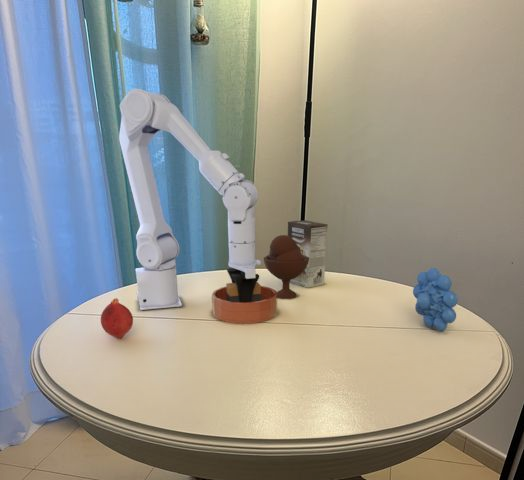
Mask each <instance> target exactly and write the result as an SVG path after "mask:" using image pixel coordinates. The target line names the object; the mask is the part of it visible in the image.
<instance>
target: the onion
mask: <svg viewBox="0 0 524 480" xmlns="http://www.w3.org/2000/svg"><path fill="white" fill-rule="evenodd" d="M119 301H120V300H119V299H118V298H117V297H114V298H112V300H111V301H110V303H109V304H108V305H106V307H105V308H104V309H103V311H102V312H101V314H100V325H101V328H102V329H103V330H104V331H105V333H106V334H108V335H109V336H111V337H113V338H116V339H123V338H124V336H125V335H126V334H127V333H128V332H130V330H131V329H132V328H133V324H134V317H133V313H132V312H131V310H130V309H129V308H128V307H127V306H126V305H124V304H122V303H120V302H119Z"/></svg>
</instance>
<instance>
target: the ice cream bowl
mask: <svg viewBox="0 0 524 480" xmlns="http://www.w3.org/2000/svg"><path fill="white" fill-rule="evenodd" d="M308 262H309V257H307V256H305V255H302V254H301V250H300V248H299V246H298V245H297V244H296V242H295V241H294V240H293V239H292V238H291V237H290V236H288V234H280V235H277V236H275V237H274V238H273V239H272V240H271V242H270V245H269V252H268V255H266V256H264V257H263V263H264V266H265V268H266V270H267V271H268V272H269V273H270V274H271V275H273V277H275V278H277V279H278V280H281V282H282V285H281V286H282V287H281V289H279V290H278V291H276V292H277V299H282V300H283V299H284V300H286V299H288V300H289V299H295V298H296V297H297V296H298V295H297V292H295V291H293V290H292V289H291V288H290V283H291V282H290V280H291V279H294V278H296V277H297V276H299V275H300V274H301V273H302V272H303V271H304V270H305V269H306V267H307V265H308Z"/></svg>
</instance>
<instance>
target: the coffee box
mask: <svg viewBox="0 0 524 480" xmlns="http://www.w3.org/2000/svg"><path fill="white" fill-rule="evenodd" d="M328 227H329V225H328V224H327V223H322V222H317V221H311V220H292V221H291V220H290V221H288V222H287V236H290V237H291V238H292V239H293V240H294V241H295V242H296V244H297V245H298V246H299V248H300V250H301V254H302V255H305V256H307V257H309V262H308V265H307V267H306V269H305V270H304V271H303V272H302V273H301V274H300V275H299V276H297V277H296V278H294V279H291V280H290V283H292V284H295V285H298V286H301V287H305V288H313V287H318V286H323V285H325V284H324V283H325V274H326V273H325V272H326V271H325V270H326V258H327V257H326V255H327V242H328V241H327V240H328Z"/></svg>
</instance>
